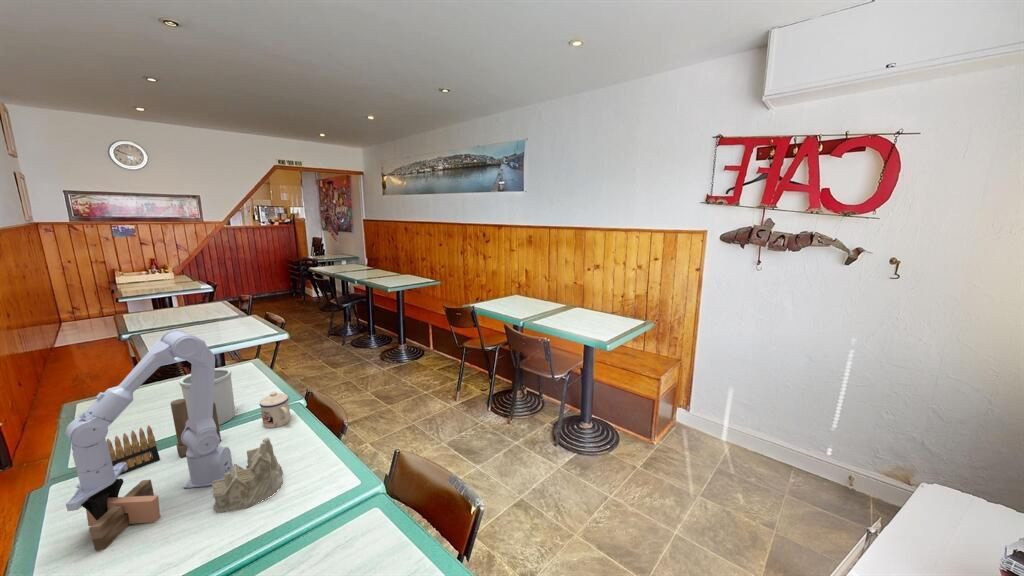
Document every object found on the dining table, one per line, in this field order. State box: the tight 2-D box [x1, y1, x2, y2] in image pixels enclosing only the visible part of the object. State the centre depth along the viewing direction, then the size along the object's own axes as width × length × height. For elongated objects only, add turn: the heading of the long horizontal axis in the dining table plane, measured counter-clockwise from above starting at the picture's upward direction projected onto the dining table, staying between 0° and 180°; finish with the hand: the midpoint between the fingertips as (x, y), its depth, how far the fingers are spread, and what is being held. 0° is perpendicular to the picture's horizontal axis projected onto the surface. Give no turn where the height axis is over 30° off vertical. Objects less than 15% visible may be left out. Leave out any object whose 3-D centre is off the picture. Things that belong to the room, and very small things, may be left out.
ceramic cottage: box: [211, 437, 284, 513], centre depth 107 cm, size 16×16×15 cm
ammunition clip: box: [106, 424, 161, 477], centre depth 117 cm, size 11×2×12 cm, turn 143°
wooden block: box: [170, 398, 222, 458], centre depth 126 cm, size 4×11×18 cm, turn 146°
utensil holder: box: [179, 367, 236, 426], centre depth 144 cm, size 15×15×18 cm
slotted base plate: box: [88, 479, 155, 551], centre depth 97 cm, size 16×2×6 cm, turn 10°
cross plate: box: [85, 494, 161, 527], centre depth 96 cm, size 14×2×6 cm, turn 100°
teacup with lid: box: [259, 391, 291, 429], centre depth 141 cm, size 12×9×12 cm
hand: (106, 514), depth 96 cm, fingers closed on cross plate, 2 cm apart
